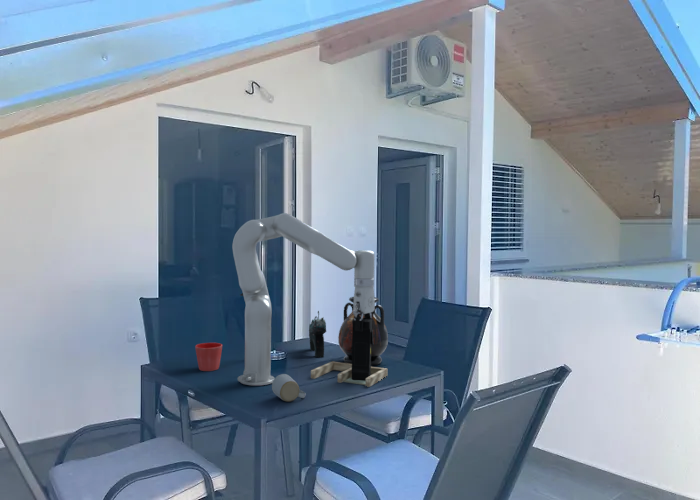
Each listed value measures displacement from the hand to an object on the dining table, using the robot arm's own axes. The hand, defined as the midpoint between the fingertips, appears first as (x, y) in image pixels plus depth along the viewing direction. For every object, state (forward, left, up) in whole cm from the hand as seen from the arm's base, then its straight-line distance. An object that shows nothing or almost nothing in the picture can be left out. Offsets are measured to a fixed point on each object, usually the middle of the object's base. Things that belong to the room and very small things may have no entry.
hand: (362, 329), depth 217 cm
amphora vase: (+26, +12, -20) cm, 35 cm away
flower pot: (-16, +61, -20) cm, 66 cm away
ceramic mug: (-34, +11, -20) cm, 41 cm away
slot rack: (0, +6, -19) cm, 20 cm away
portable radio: (0, 0, -19) cm, 19 cm away
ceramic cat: (+31, +38, -20) cm, 53 cm away
